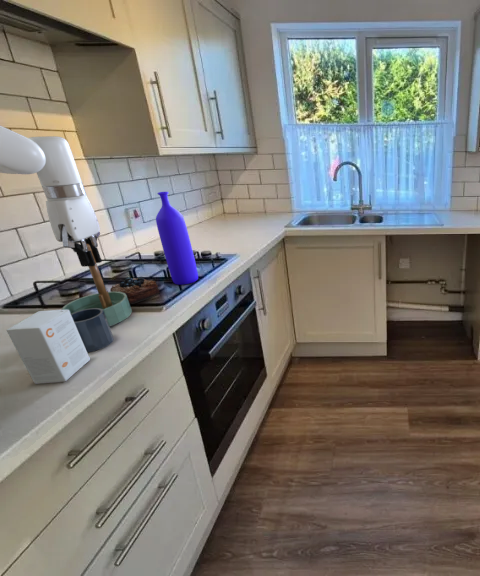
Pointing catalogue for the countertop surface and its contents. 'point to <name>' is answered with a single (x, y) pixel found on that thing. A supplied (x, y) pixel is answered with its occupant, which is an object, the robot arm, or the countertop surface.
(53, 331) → the small box
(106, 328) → the crock
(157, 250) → the countertop surface
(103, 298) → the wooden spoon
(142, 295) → the pastry
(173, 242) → the bottle
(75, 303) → the bowl
